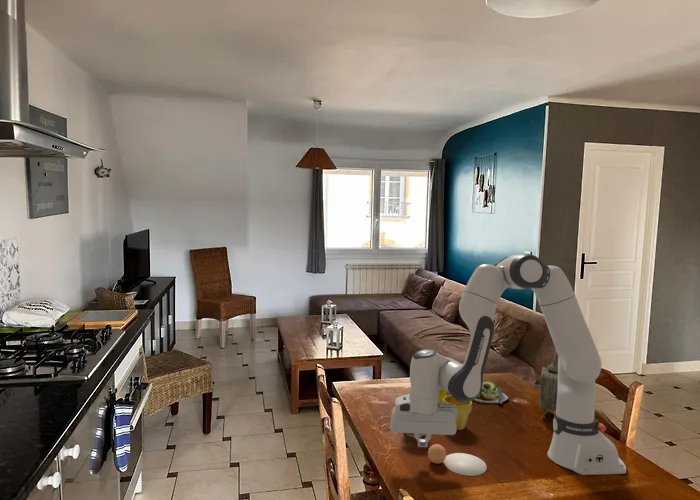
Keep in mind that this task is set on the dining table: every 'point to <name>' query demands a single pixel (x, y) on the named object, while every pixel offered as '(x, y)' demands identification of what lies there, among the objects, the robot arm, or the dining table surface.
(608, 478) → the dining table surface
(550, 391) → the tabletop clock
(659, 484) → the dining table surface
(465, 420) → the plant pot
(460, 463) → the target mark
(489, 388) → the avocado toast plate
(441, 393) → the supplement bottle
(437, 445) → the ball
